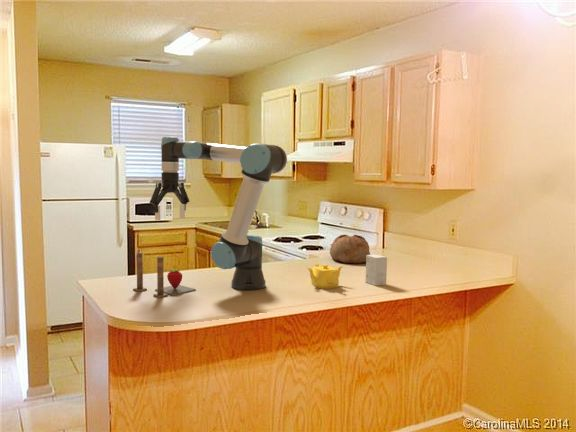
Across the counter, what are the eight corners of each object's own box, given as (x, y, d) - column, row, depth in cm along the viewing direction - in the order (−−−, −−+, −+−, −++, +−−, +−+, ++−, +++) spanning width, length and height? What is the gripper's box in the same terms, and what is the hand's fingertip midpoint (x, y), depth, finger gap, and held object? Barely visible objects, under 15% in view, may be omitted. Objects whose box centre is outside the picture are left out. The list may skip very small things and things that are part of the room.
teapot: (314, 280, 236) (315, 260, 235) (343, 283, 231) (344, 263, 230) (304, 287, 223) (305, 266, 222) (335, 291, 218) (335, 269, 217)
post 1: (146, 290, 211) (146, 253, 210) (138, 292, 208) (138, 254, 207) (141, 288, 214) (140, 251, 212) (133, 290, 211) (132, 253, 209)
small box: (386, 284, 231) (387, 257, 230) (375, 286, 228) (376, 257, 227) (376, 281, 238) (377, 254, 237) (365, 282, 235) (366, 254, 234)
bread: (372, 265, 278) (373, 238, 277) (330, 264, 279) (331, 237, 278) (367, 256, 304) (368, 232, 303) (329, 255, 305) (329, 231, 304)
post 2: (167, 296, 203) (167, 257, 201) (159, 298, 200) (159, 258, 198) (161, 294, 205) (161, 256, 204) (153, 296, 202) (153, 257, 201)
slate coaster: (195, 290, 213) (195, 289, 213) (173, 295, 204) (173, 294, 204) (177, 285, 220) (177, 284, 220) (155, 290, 211) (155, 289, 211)
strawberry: (172, 291, 208) (172, 268, 207) (164, 288, 213) (164, 265, 212) (185, 289, 211) (185, 266, 210) (176, 286, 217) (176, 263, 216)
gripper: (186, 171, 236) (186, 216, 238) (141, 171, 216) (141, 220, 218) (197, 172, 231) (196, 217, 233) (151, 171, 211) (152, 221, 214)
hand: (170, 219), depth 226 cm, fingers open, 13 cm apart
